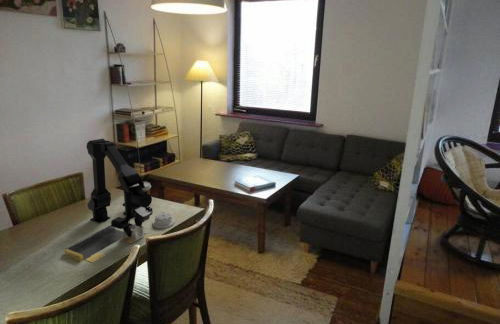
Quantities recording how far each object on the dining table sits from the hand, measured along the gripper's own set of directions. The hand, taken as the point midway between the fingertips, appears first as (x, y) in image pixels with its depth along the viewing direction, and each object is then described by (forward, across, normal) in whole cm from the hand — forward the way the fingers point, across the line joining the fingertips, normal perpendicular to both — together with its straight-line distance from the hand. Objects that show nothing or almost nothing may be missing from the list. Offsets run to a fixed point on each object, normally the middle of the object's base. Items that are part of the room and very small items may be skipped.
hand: (134, 234), depth 153 cm
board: (+1, 0, 0) cm, 1 cm away
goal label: (+1, -20, +1) cm, 20 cm away
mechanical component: (+2, +16, -2) cm, 17 cm away
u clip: (+1, 0, 0) cm, 1 cm away
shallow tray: (+1, -12, +8) cm, 14 cm away
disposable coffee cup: (+2, +27, +20) cm, 34 cm away
